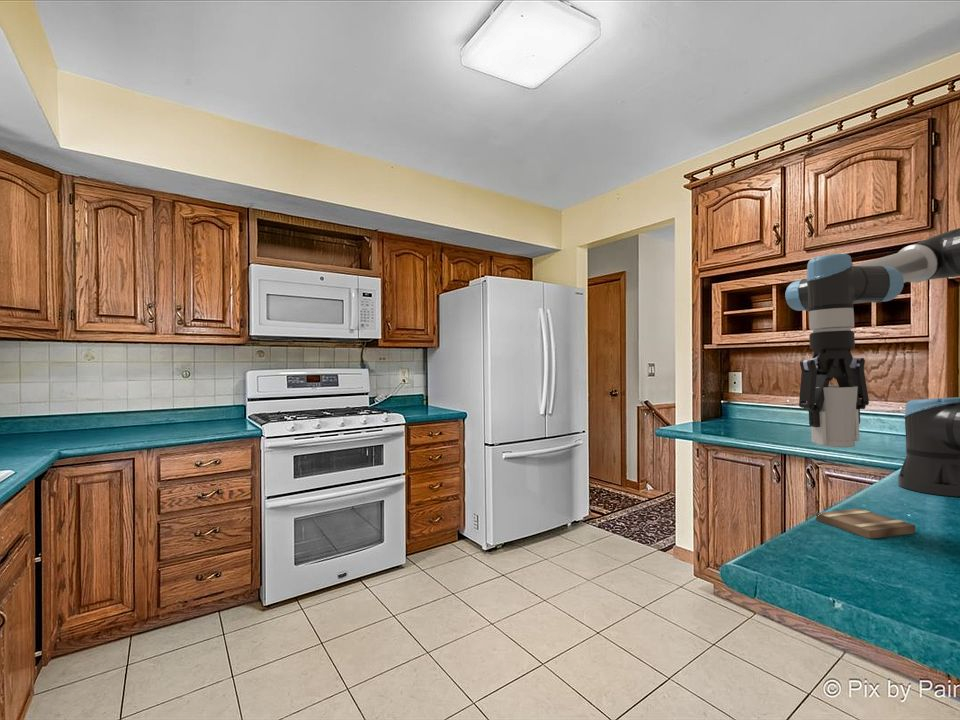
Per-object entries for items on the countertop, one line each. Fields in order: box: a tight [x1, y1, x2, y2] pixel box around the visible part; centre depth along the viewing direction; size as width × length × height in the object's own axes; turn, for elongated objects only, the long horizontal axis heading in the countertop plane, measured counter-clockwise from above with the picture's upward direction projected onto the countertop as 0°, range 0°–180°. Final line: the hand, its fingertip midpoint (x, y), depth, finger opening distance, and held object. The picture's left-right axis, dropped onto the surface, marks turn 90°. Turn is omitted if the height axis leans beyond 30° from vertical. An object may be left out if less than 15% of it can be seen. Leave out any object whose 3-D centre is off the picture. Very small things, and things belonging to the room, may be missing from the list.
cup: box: [815, 384, 858, 448], centre depth 99 cm, size 8×8×12 cm
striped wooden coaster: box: [815, 508, 916, 540], centre depth 96 cm, size 11×11×2 cm
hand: (835, 441), depth 99 cm, fingers closed on cup, 7 cm apart
